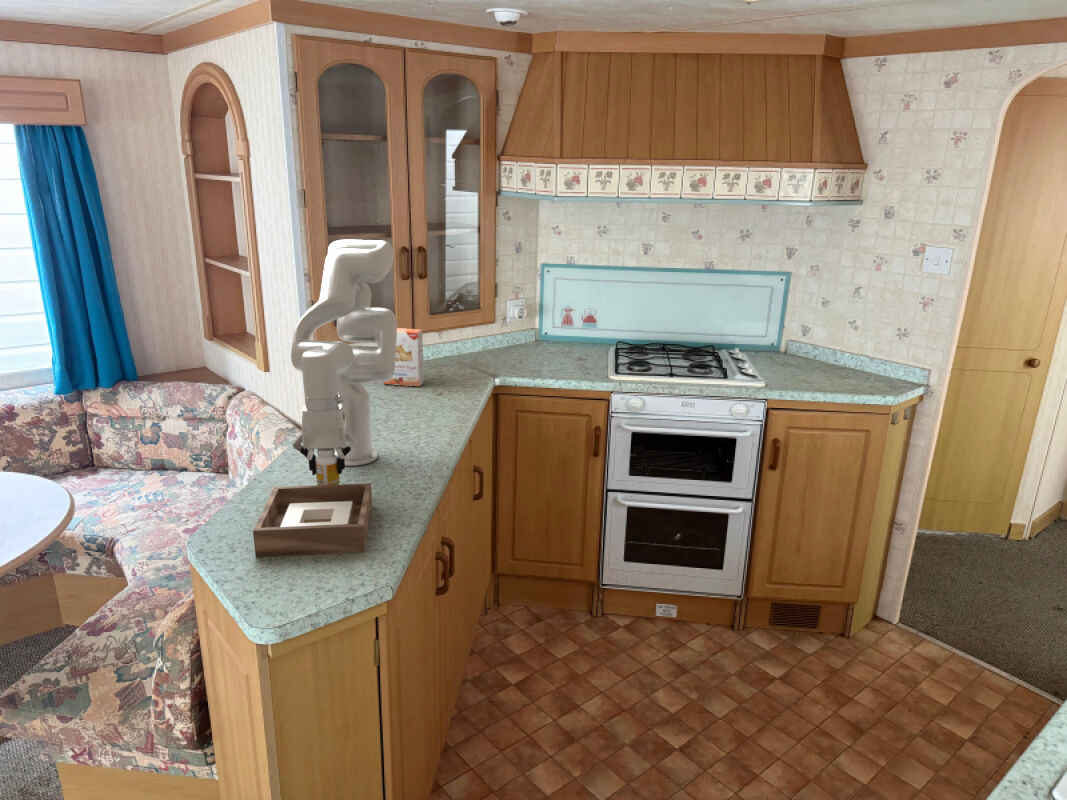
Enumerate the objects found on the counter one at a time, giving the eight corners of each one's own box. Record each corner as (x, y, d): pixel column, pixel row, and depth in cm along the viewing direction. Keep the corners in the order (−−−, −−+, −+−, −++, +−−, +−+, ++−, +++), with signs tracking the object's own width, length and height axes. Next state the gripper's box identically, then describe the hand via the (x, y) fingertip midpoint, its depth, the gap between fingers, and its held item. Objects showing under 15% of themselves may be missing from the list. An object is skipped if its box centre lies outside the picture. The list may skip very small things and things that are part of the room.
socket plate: (290, 513, 170) (289, 503, 170) (353, 510, 172) (352, 501, 172) (279, 542, 157) (278, 531, 156) (346, 539, 159) (346, 528, 158)
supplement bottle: (342, 480, 184) (339, 443, 181) (337, 489, 179) (334, 452, 176) (320, 479, 184) (317, 443, 181) (314, 489, 179) (311, 452, 176)
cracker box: (382, 385, 275) (380, 329, 269) (388, 381, 281) (386, 326, 274) (419, 388, 273) (417, 332, 267) (424, 383, 279) (422, 328, 272)
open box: (276, 510, 174) (274, 486, 172) (372, 506, 177) (371, 483, 175) (255, 557, 153) (252, 530, 151) (364, 551, 156) (363, 526, 154)
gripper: (360, 395, 179) (365, 464, 185) (286, 397, 177) (293, 467, 183) (357, 406, 172) (362, 477, 178) (281, 408, 170) (288, 480, 176)
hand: (327, 471), depth 180 cm, fingers closed on supplement bottle, 5 cm apart
